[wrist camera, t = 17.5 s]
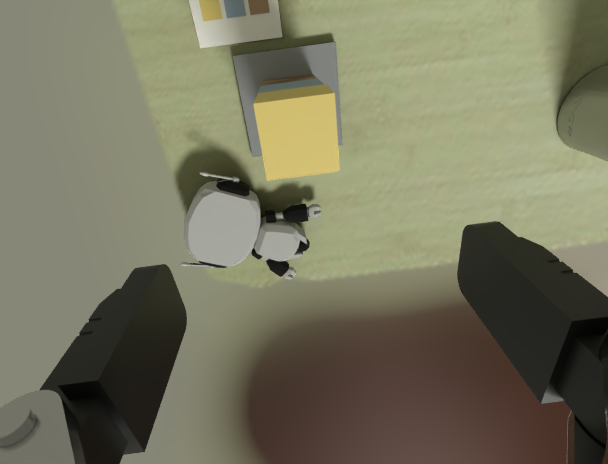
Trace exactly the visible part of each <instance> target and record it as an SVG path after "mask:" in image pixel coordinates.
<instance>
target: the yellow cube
mask: <svg viewBox="0 0 608 464" xmlns="http://www.w3.org/2000/svg"><path fill="white" fill-rule="evenodd" d="M253 105H254V111H255V117H256V122H257V128H258V133H259V139H260V144H261V150H262V156H263V161H264V167H265V172H266V178H267V181H269V180H277V179H285V178H292V177H300V176H308V175H315V174H323V173H331V172H338V171H340V166H339V150H338V135H337V119H336V104H335V93H334V92H333V91H332V90H331V89H330V88H329V87H328V86H327V85H326V84H322V85H315V86H307V87H300V88H292V89H284V90H277V91H269V92H262V93H258V94H257V97H256V99H255V101H254V103H253Z"/></svg>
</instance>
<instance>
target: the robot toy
mask: <svg viewBox="0 0 608 464" xmlns="http://www.w3.org/2000/svg"><path fill="white" fill-rule="evenodd" d="M200 174H201V175H203V176H207V177H208V176H211V177H217V178H219V179H218V181H212V182H207V183H206V184H204V185H203V186H202V187H201V188H200V189H199V190H198V191H197V193H196V195H195V196H194V198H193V201H192V203H191V205H190V208H189V210H188V212H187V215H186V218H185V222H184V238H185V245H186V248H187V250H188V252H189V254H190V255H191V256H192V257H194V258H195V259H196V260H198V261H199V262H200V263H202V264H196V263H193V264H192V263H181V264H180V265H181V266H204V267H210V268H215V267H217V268H226V267H229V266H234V265H237V264H239V263H240V262H242V261H243V260H244V259H245V258H246V257H247V256H248V254H249V253H250V252H251V250H252V248H253V246H254V248H253V250H252V255H253V256H254V257H256V258H257V259H260V258H263V259H264V260H265V261H266V262H267V264H268V266H269V268H270V270H271V271H273V272H274V273H276V274H277V275H278V276H280V277H281V276H283V277H284V278H286V279H292V278H293V277H292V275H293V276H295V275H296V270H295V269H294V268H293V267H289V264H288V262H286V260H288V259H297V258H299V257H300V256H302V255H303V251H306V250H307V249H308V248H309V244H310V243H309V241H308V239H307V238H306V235H305V232H304V229H303V228H301V227H300V226H298V225H297V224H296V223H297V222H304V221H308V217H312V218H317V217H320V215H321V211H317V210H321V207H320V206H319V205H318V204H312V205H310V206H309V207H306V204H299V205H292V206H290V207H289V208H287V209H286V210H284V211H283V212H280V213H275V211H274V210H271V211H265V216H264V217H263V218H261V219H260V202H259V200H258V197H257V195H256V194H255V193H253V192H252V191H251V190H250V189H249V186H248V185H247V184H245V183H244V182H242V181H240V180H239V178H238V177H234V176H233V178H232V177H227V176H221V175H215V174H209V173H207V172H201V173H200ZM291 274H292V275H291Z"/></svg>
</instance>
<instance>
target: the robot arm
mask: <svg viewBox="0 0 608 464" xmlns="http://www.w3.org/2000/svg"><path fill="white" fill-rule="evenodd" d="M557 124H558V133H559V135H560V138H561V139H562V141H563V142H564V143H565V144H566V145H567V146H569V147H571V148H573V149H576V150H579V151H581V152H584V153H587V154H590V155H592V156H595V157H598V158H600V159H603V160H605V161H608V65H605V66H602V67H600V68H598V69H596V70H594V71H592V72H590V73H589V74H588V75H586V76H585V77H584V78H582V79H581V80H580V81H579V82H578V83H577V84H576V85H575V86H574V87H573V89H572V90H571V91H570V93H569V94H568V95H567V97H566V99H565V101H564V102H563V104H562V106H561V109H560V112H559V116H558V123H557ZM457 275H458V283H459V287H460V290H461V292H462V294H463V295H464V297H465V298H466V300H467V301H468V303H469V304H470V305H471V307H472V308H473V310H474V311H475V312H476V314H477V315H478V317H479V318H480V319H481V321H482V322H483V323H484V325H485V326H486V328H487V329H488V330H489V332H490V333H491V334H492V336H493V337H494V339H495V340H496V341H497V343H498V344H499V346H500V347H501V348H502V350H503V351H504V353H505V354H506V356H507V357H508V358H509V360H510V361H511V363H512V364H513V365H514V367H515V368H516V369H517V371H518V372H519V374H520V375H521V376H522V378H523V379H524V381H525V382H526V383H527V385H528V386H529V388H530V389H531V390H532V392H533V393H534V395H535V396H536V397H537V399H538V400H539V402H540V403H541V404H542V403H549V402H558V401H565V402H566V404H567V405H568V406H569V407H570V409H571V413H570V415H569V417H568V438H567V464H608V297H607V296H606V295H604V294H603V293H602V292H600V291H599V290H598V289H597V288H595V287H594V286H593V285H592V284H590V283H589V282H588V281H586V280H585V279H584V278H583V277H581V276H580V275H579V274H577V273H573V270H572V269H571V268H570V267H569V266H567V265H566V264H565V263H563V262H560V261H559V259H558V258H557V257H556V256H554V255H553V254H552V253H551V252H549V251H548V250H547V249H545V248H544V247H543V246H541V245H538V244H536V243H534V242H532V241H529V240H527V239H525V238H523V237H517V236H516V235H515V234H514V233H513V232H511V231H510V230H509V229H508V228H506V227H505V226H504V225H503V224H502V223H500V222H497V221H495V222H487V223H480V224H472V225H467V226H466V227H465V228H464V230H463V234H462V242H461V249H460V257H459V264H458V273H457ZM186 322H187V317H186V310H185V306H184V304H183V301H182V299H181V296H180V293H179V291H178V288H177V286H176V283H175V281H174V278H173V275H172V273H171V271H170V269H169V267H168V266H167V265H165V264H162V265H155V266H147V267H140V268H135V269H134V270H133V271H132V273H131V274H130V276H129V277H128V279H127V280H126V282H125V283H124V285H123V286H122V288H121V289H117V290H115V291H114V292H113V293H112V294H111V295H109V296H108V297H107V298H106V299H105V300H103V301H102V302H101V303H100V304H99V305H98V307H97V308H96V310H95V311H94V313H93V314H92V315H91V317H90V318H89V322H88V323H86V324H85V325H84V327H83V328H82V330H81V331H80V335H79V336H77V337H76V339H75V340H74V341H73V343H72V344H71V346H70V347H69V348H68V350H67V351H66V353H65V354H64V356H63V357H62V358H61V360H60V361H59V363H58V364H57V366H56V367H55V369H54V370H53V371H52V373H51V374H50V376H49V377H48V378H47V380H46V382H45V383H44V384H43V386H42V387H41V389H40V390H39V391H34V392H31V393H28V394H25V395H23V396H21V397H18V398H16V399H14V400H13V401H11V402H9V403H8V404H6V405H4V406H3V407H2V408H0V464H120V461H121V459H122V456H123V455H124V454H132V453H139V452H145V449H146V446H147V443H148V440H149V437H150V434H151V431H152V428H153V425H154V422H155V419H156V416H157V413H158V410H159V407H160V404H161V401H162V399H163V396H164V393H165V390H166V387H167V383H168V381H169V378H170V375H171V372H172V369H173V366H174V363H175V360H176V357H177V354H178V351H179V348H180V345H181V342H182V339H183V336H184V333H185V330H186V324H187V323H186Z"/></svg>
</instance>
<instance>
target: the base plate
mask: <svg viewBox="0 0 608 464" xmlns="http://www.w3.org/2000/svg"><path fill="white" fill-rule="evenodd" d="M233 61H234V66H235V71H236V76H237V81H238V86H239V91H240V96H241V101H242V106H243V111H244V116H245V121H246V126H247V131H248V136H249V141H250V146H251V151H252V156H253V157H257V156H262V150H261V144H260V139H259V133H258V128H257V122H256V117H255V111H254V105H253V103H254V101H255V99H256V97H257V92H258V90H259V88H260V86H261V84H262V82H263V81H264V80H272V79H279V78H286V77H294V76H301V75H309V74H313V75H314V76H315V77H316V78H318V79H319V80H320V81H321V82H322V83H323V84H326V85H327V86H328V87H329V88H330V89H331V90H332V91H333V92H334V93H335V104H336V119H337V135H338V146H339V145H342V132H341V116H340V100H339V84H338V68H337V52H336V42H330V43H323V44H316V45H308V46H301V47H294V48H286V49H279V50H272V51H264V52H257V53H250V54H242V55H235V56H233Z"/></svg>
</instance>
